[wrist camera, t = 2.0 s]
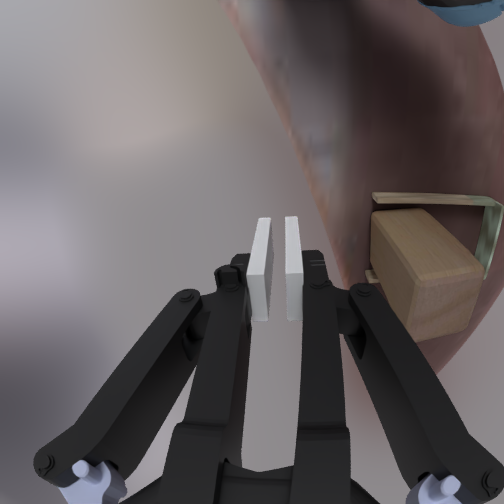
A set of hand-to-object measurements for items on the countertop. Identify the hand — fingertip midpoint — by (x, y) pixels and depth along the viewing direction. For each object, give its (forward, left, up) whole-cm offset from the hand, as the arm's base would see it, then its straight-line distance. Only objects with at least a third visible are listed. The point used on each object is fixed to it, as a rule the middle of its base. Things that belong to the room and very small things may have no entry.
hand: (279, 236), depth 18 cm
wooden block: (+12, +19, -25) cm, 33 cm away
